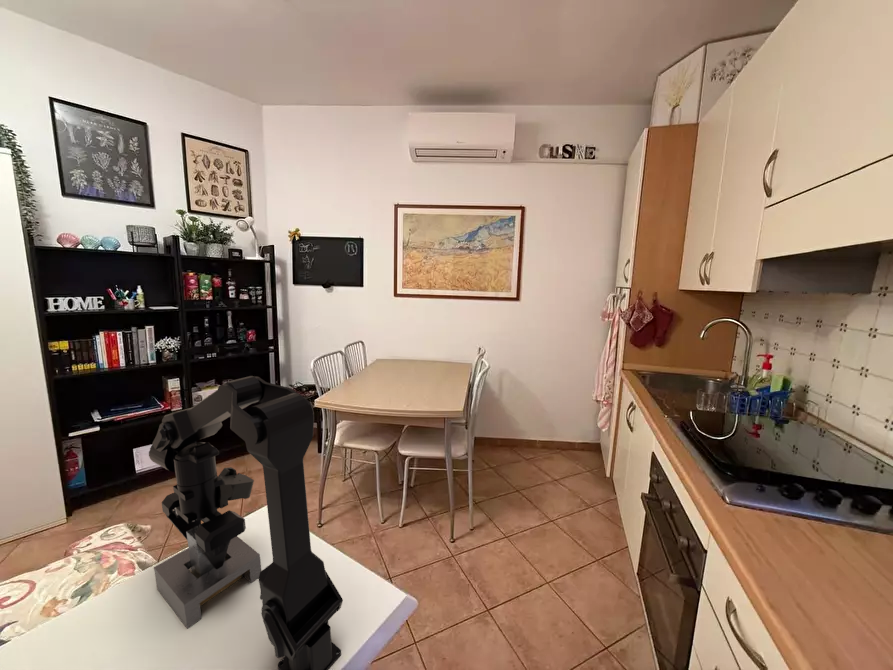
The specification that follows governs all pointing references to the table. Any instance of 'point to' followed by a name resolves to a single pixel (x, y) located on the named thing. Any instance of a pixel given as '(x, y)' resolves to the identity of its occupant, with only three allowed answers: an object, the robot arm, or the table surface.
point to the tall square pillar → (197, 555)
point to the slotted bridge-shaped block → (203, 579)
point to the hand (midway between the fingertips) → (207, 556)
